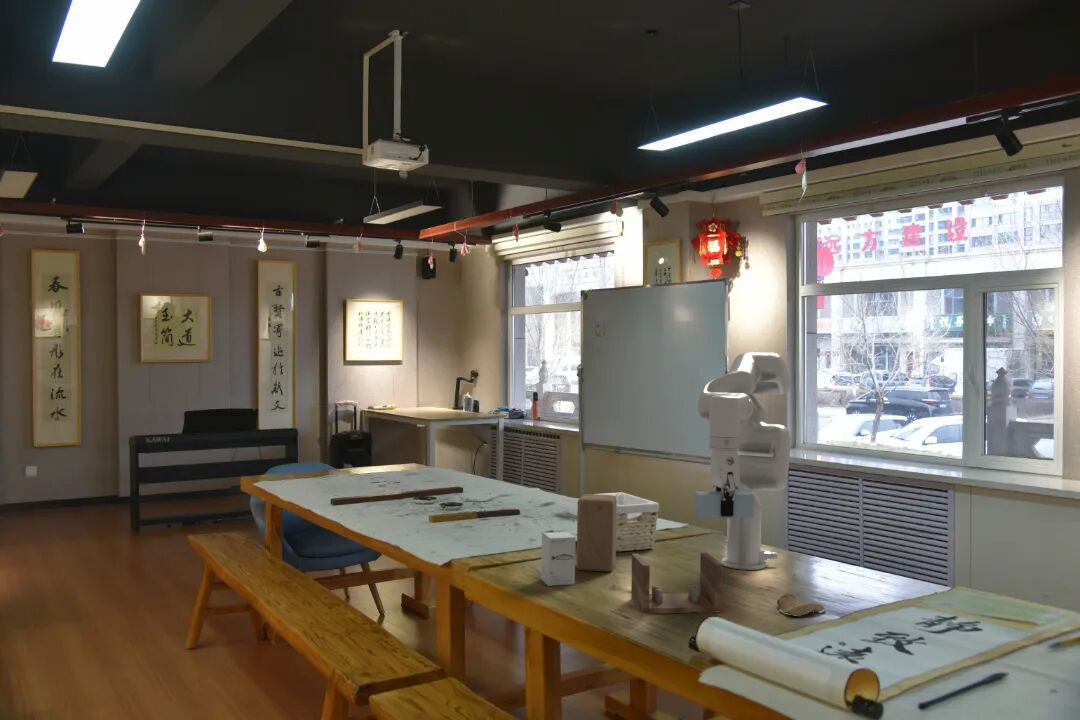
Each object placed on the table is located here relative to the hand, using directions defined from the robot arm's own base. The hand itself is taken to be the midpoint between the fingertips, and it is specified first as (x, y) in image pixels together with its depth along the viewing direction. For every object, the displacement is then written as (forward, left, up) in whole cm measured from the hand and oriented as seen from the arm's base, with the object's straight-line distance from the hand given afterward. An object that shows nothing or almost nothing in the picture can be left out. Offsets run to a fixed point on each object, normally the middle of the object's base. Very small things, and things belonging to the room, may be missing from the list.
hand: (723, 513), depth 223 cm
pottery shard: (-12, +18, -20) cm, 30 cm away
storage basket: (+16, -55, -20) cm, 61 cm away
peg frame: (+16, +12, -20) cm, 28 cm away
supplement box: (+41, -11, -20) cm, 47 cm away
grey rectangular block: (0, 0, -1) cm, 1 cm away
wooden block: (+28, -26, -20) cm, 43 cm away
